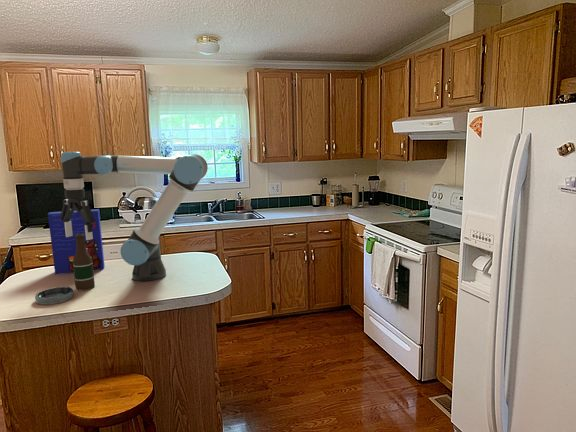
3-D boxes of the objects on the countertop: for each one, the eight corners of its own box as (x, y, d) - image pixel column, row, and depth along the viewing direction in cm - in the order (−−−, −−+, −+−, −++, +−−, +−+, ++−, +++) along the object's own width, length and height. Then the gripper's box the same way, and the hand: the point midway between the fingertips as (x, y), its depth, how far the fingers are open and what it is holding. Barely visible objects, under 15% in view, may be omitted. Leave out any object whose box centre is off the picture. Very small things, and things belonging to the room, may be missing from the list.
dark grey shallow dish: (80, 293, 178) (79, 287, 178) (58, 305, 165) (57, 298, 165) (51, 292, 180) (51, 286, 180) (28, 304, 168) (27, 297, 167)
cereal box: (104, 266, 219) (98, 208, 213) (103, 269, 213) (97, 210, 208) (57, 271, 211) (50, 211, 206) (55, 274, 206) (47, 213, 201)
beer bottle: (93, 289, 183) (87, 235, 179) (73, 291, 181) (67, 236, 177) (96, 283, 191) (90, 231, 186) (77, 285, 188) (71, 233, 184)
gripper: (47, 188, 181) (53, 236, 185) (85, 191, 169) (90, 242, 173) (64, 186, 187) (69, 233, 191) (101, 189, 175) (106, 239, 179)
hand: (79, 238), depth 182 cm, fingers open, 13 cm apart
